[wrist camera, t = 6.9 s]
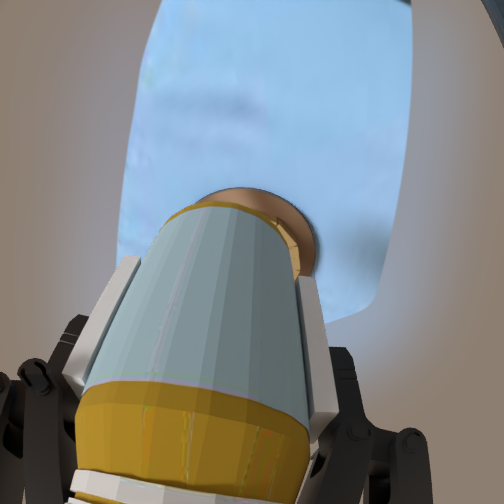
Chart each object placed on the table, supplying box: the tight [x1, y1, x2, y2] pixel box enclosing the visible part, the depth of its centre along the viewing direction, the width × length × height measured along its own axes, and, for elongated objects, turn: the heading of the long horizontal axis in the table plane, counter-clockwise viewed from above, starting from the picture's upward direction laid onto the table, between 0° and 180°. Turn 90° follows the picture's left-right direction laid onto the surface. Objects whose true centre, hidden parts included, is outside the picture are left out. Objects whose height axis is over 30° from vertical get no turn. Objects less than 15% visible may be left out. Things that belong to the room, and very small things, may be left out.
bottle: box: [65, 201, 310, 504], centre depth 10 cm, size 7×7×15 cm
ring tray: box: [194, 187, 315, 286], centre depth 37 cm, size 17×17×2 cm
